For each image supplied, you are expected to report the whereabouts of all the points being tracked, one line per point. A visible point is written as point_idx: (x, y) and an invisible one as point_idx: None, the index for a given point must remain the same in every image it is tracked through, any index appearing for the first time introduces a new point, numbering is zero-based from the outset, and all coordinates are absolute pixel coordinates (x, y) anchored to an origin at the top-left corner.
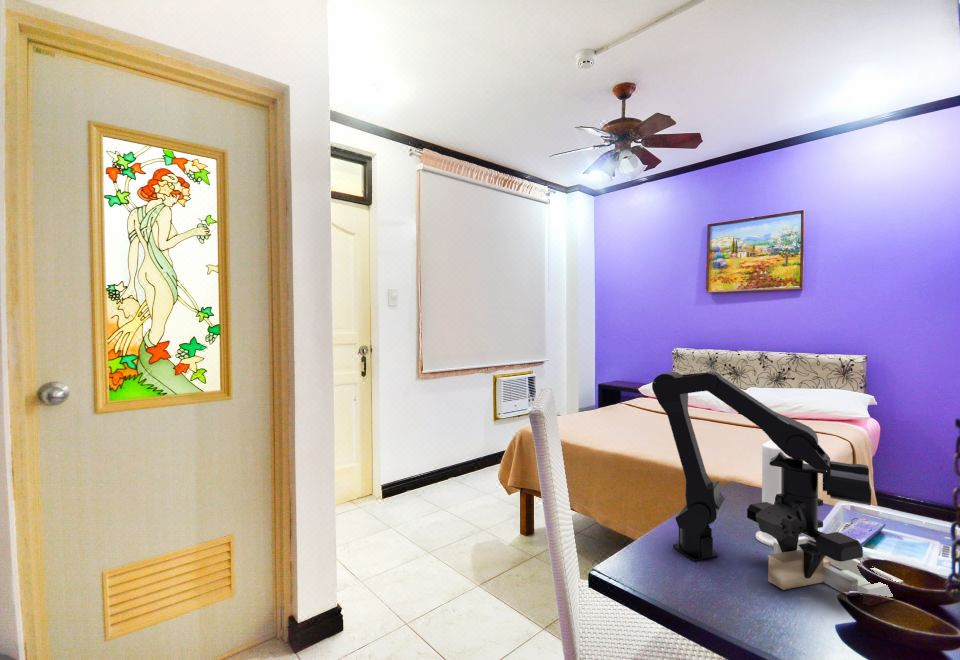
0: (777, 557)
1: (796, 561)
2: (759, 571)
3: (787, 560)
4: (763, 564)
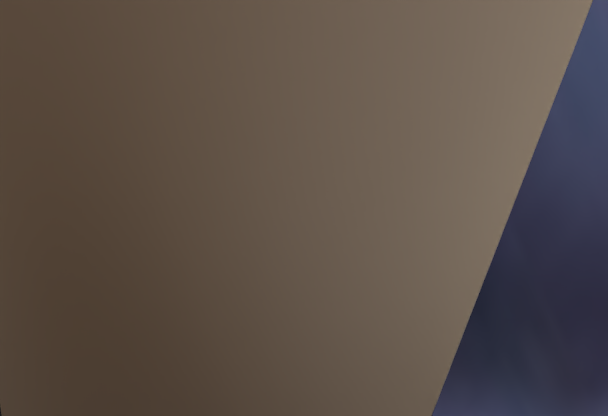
0: (314, 55)
1: (16, 363)
2: (572, 161)
3: (60, 173)
4: (597, 320)
